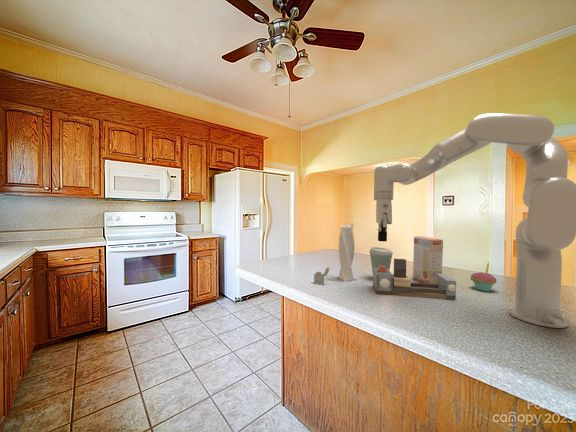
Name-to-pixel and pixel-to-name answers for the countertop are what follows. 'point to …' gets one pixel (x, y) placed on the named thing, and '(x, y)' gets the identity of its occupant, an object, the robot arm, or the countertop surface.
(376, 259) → the disposable coffee cup
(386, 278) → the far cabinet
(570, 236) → the robot arm
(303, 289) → the countertop surface
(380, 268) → the button
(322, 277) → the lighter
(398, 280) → the carriage
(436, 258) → the cracker box
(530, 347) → the countertop surface
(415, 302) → the countertop surface
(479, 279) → the cupcake
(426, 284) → the track
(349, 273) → the skyscraper
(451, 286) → the grey rectangular block
